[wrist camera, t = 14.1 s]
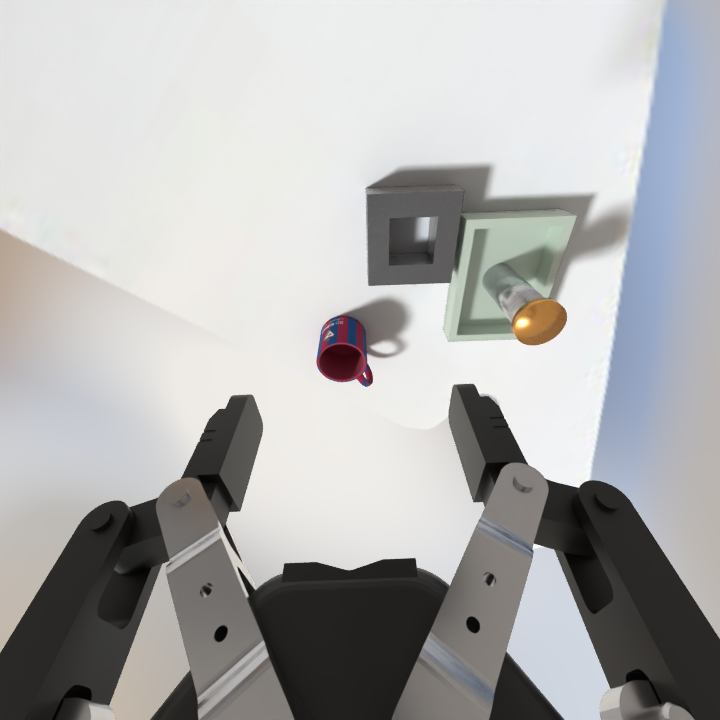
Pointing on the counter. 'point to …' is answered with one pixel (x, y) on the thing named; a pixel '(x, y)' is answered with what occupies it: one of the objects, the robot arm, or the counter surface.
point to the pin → (524, 306)
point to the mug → (343, 351)
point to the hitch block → (442, 238)
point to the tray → (494, 246)
